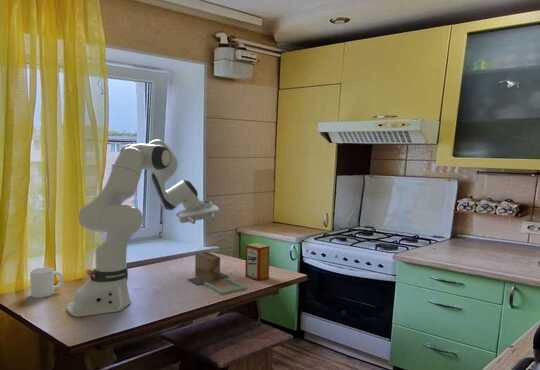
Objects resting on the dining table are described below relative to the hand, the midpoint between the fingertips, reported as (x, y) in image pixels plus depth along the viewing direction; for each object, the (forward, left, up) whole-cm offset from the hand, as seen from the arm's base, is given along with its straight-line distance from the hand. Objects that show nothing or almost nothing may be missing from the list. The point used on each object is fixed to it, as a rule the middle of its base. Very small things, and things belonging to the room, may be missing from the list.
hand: (203, 220), depth 200 cm
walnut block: (-1, -5, -27) cm, 27 cm away
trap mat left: (-7, -8, -27) cm, 29 cm away
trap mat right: (+6, -5, -27) cm, 28 cm away
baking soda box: (+19, -18, -27) cm, 38 cm away
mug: (-66, +11, -27) cm, 72 cm away
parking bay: (-1, -21, -27) cm, 34 cm away
